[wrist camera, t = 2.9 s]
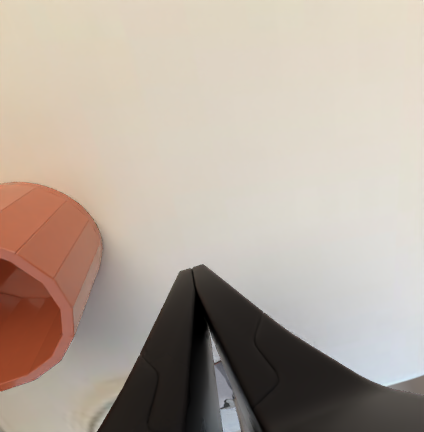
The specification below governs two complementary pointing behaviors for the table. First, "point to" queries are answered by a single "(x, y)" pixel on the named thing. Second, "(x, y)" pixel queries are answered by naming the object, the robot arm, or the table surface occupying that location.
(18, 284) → the cup
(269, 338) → the robot arm
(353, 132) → the table surface
